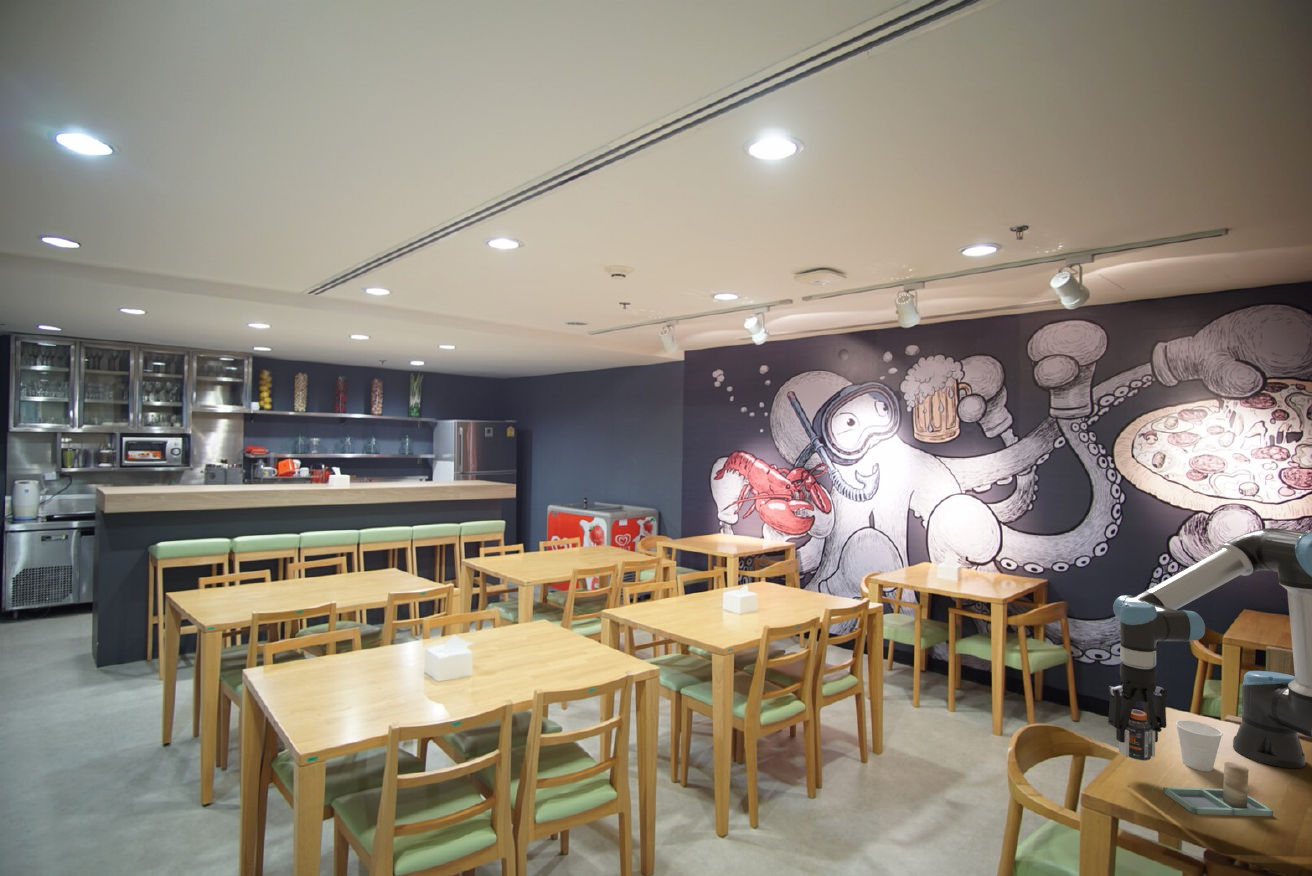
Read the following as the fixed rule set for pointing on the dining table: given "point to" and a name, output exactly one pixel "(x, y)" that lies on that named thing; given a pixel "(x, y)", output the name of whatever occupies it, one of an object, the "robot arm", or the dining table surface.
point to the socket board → (1213, 802)
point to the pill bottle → (1139, 736)
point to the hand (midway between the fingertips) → (1136, 753)
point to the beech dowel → (1235, 785)
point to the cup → (1198, 744)
